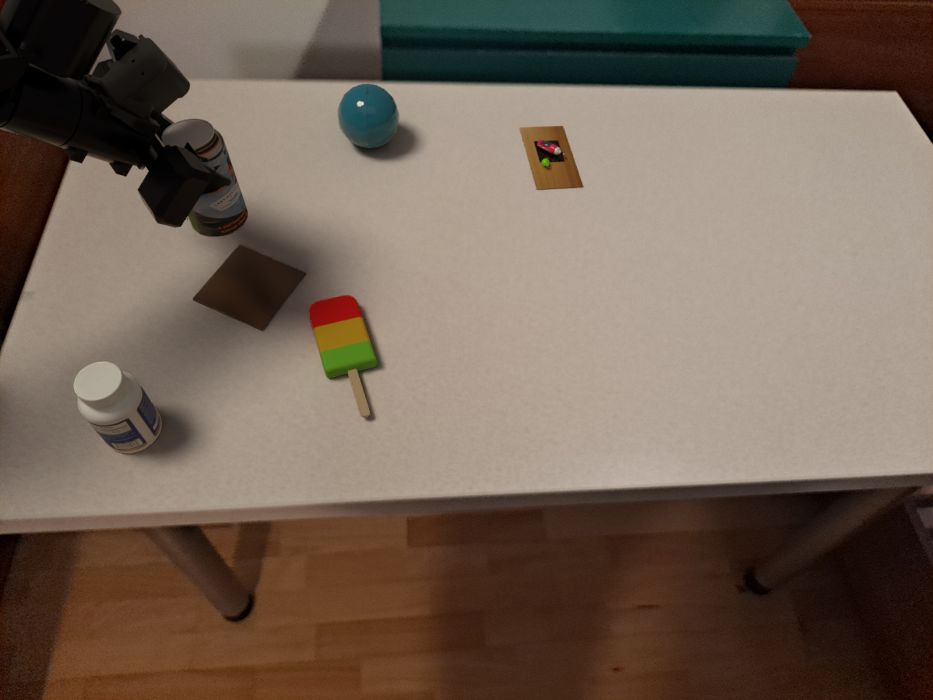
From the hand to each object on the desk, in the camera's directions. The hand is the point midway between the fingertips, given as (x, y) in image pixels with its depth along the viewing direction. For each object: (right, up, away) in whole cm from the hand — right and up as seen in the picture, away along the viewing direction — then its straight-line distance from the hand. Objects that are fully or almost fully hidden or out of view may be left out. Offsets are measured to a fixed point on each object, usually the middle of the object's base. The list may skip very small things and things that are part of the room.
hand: (215, 166), depth 71 cm
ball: (+13, +9, +22) cm, 27 cm away
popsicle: (+13, -20, +3) cm, 24 cm away
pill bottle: (-7, -27, -3) cm, 28 cm away
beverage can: (-2, -5, +5) cm, 7 cm away
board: (+37, +7, +23) cm, 45 cm away
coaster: (+1, -12, +7) cm, 14 cm away
